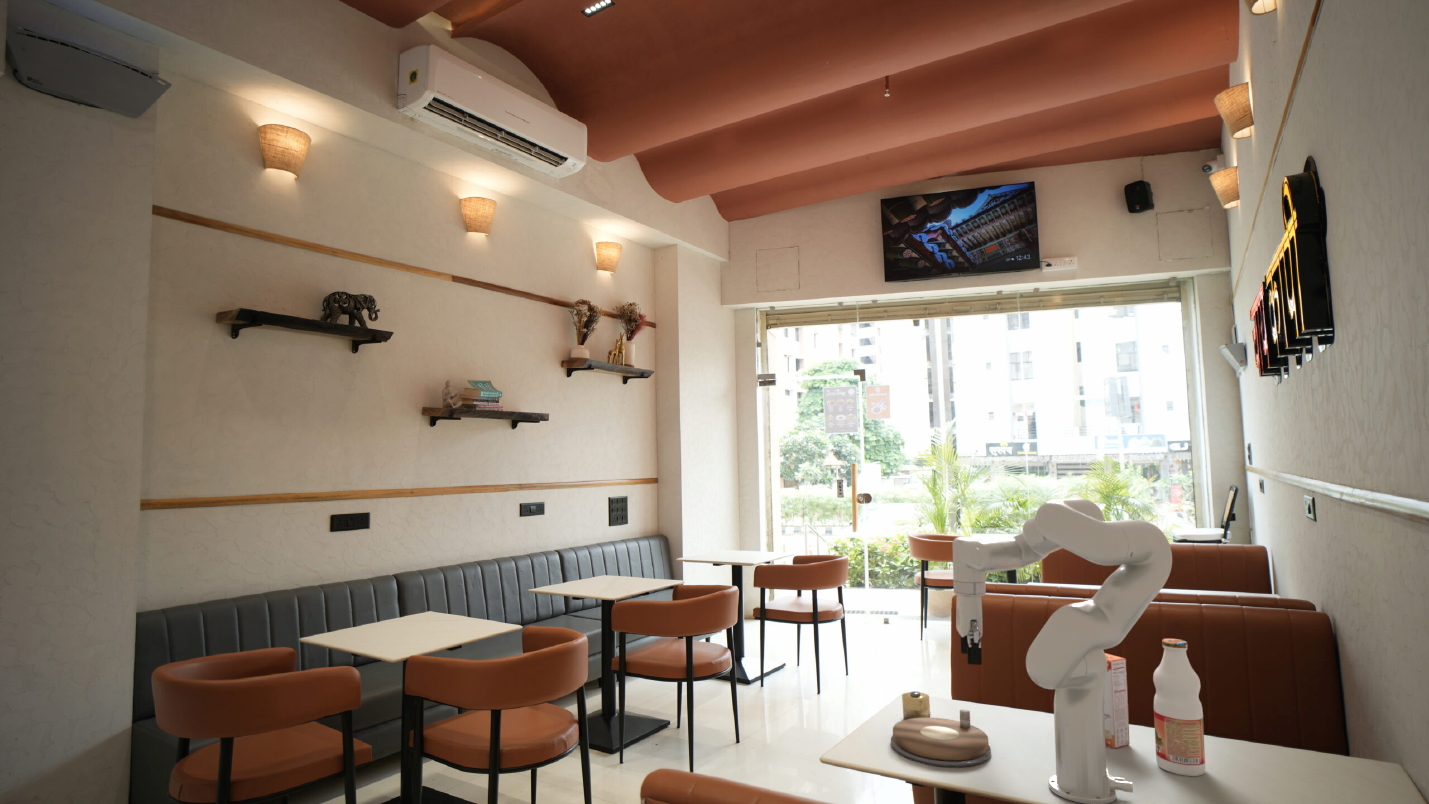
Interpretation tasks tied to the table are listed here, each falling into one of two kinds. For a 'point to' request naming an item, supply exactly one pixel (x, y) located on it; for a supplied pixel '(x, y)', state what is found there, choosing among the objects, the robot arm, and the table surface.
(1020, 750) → the table surface
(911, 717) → the cover
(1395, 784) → the table surface
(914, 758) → the turntable base
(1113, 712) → the cracker box
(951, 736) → the turntable
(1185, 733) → the fruit juice
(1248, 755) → the table surface
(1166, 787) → the table surface
